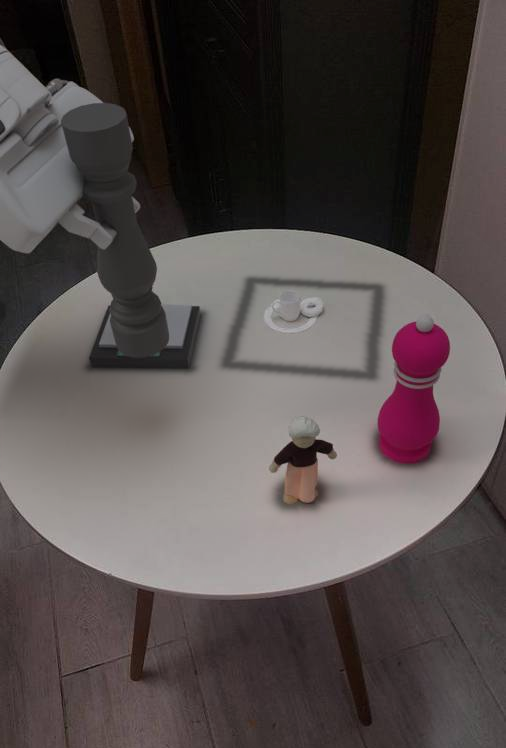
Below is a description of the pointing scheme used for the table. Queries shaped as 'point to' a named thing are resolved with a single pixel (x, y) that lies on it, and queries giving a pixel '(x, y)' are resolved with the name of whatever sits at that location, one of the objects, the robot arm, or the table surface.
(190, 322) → the scale
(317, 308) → the teacup and saucer
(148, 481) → the table surface
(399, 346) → the pepper mill
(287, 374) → the table surface
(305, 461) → the grandmother figurine
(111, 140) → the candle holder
